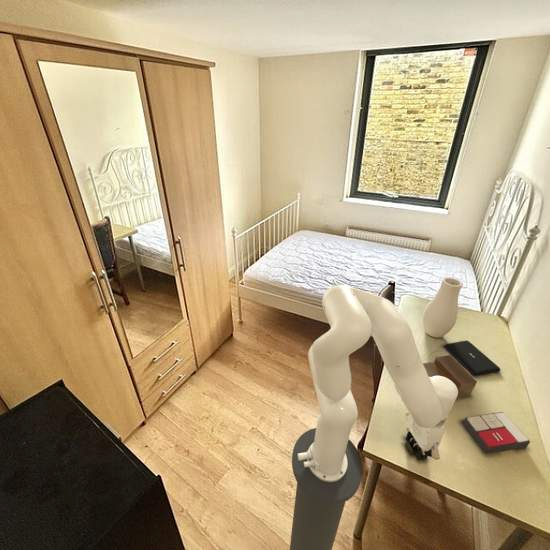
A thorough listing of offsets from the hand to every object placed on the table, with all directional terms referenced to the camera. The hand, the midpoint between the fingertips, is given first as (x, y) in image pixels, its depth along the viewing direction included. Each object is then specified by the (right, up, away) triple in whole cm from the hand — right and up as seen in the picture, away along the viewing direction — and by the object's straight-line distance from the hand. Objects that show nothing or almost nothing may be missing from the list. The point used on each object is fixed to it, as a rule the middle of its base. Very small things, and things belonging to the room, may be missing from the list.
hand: (415, 448), depth 94 cm
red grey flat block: (+29, +1, +5) cm, 29 cm away
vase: (+33, +27, +50) cm, 66 cm away
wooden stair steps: (+18, +12, +22) cm, 31 cm away
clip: (0, 0, 0) cm, 0 cm away
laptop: (+42, +19, +36) cm, 58 cm away
